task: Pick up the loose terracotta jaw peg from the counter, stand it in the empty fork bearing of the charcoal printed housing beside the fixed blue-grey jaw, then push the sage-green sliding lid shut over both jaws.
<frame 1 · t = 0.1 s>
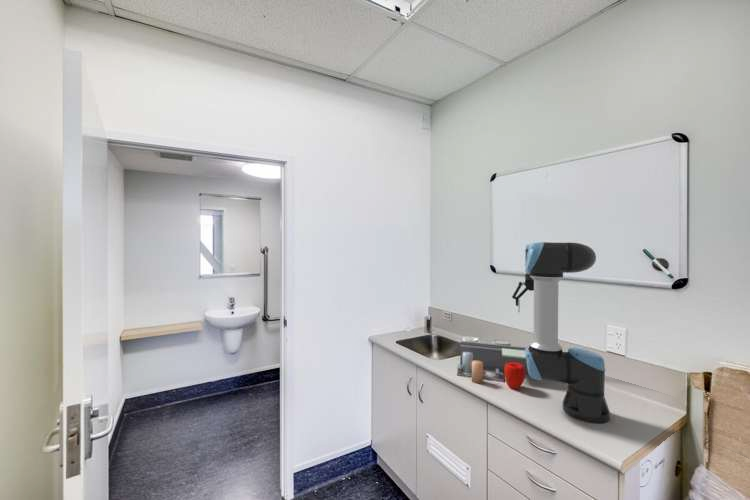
hand: (532, 312, 174), 28 cm above the counter, fingers open, 13 cm apart
housing: (480, 371, 164), on the counter
apple: (514, 387, 146), on the counter
disposable coffee cup: (501, 364, 176), on the counter
cup: (473, 355, 189), on the counter
jaw peg: (477, 381, 152), on the counter
lid: (522, 353, 156), point 12 cm above the counter, slide at 19.0 cm
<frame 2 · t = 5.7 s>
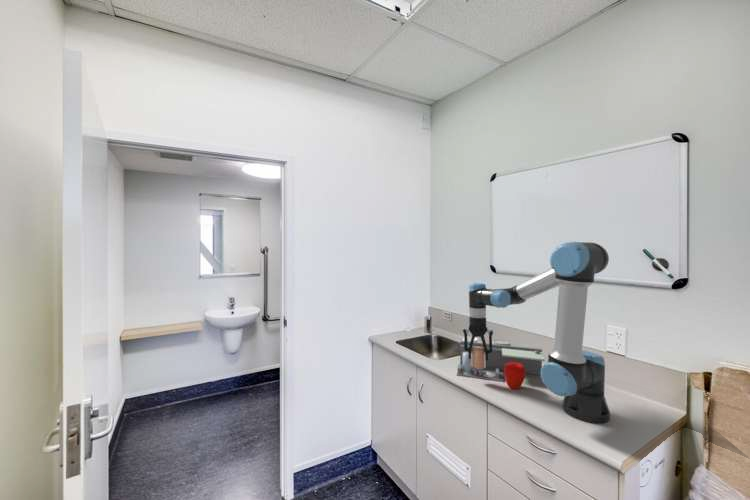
hand: (478, 366, 152), 7 cm above the counter, fingers closed on jaw peg, 5 cm apart
jaw peg: (478, 367, 151), point 7 cm above the counter, touching gripper
everything else where it was.
when the fingers open (2 cm above the counter, at t = 10.2 s): jaw peg drops 1 cm, resting on housing.
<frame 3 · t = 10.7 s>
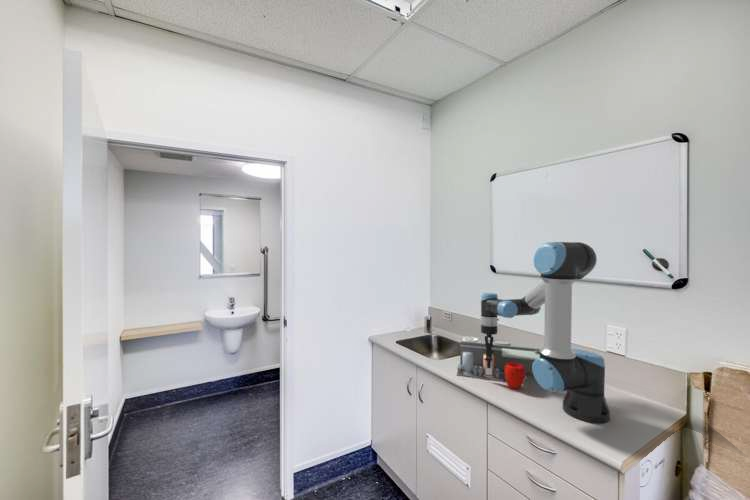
hand: (488, 370, 158), 3 cm above the counter, fingers open, 11 cm apart
jaw peg: (488, 374, 159), point 1 cm above the counter, touching housing
everything else where it was.
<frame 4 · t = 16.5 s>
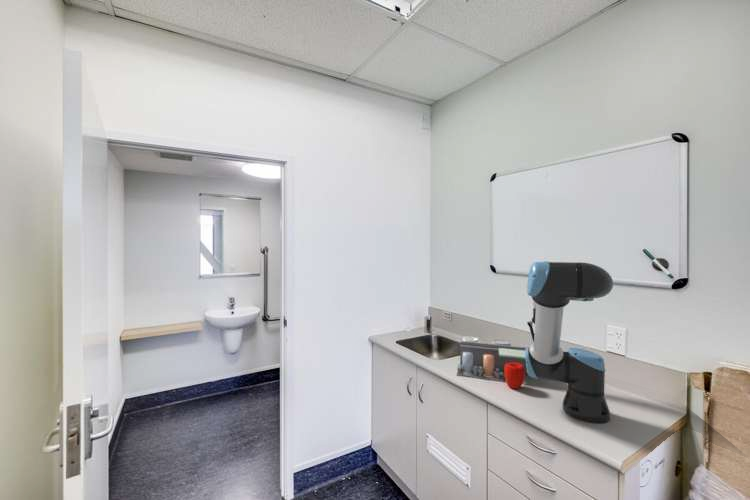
hand: (541, 358, 152), 11 cm above the counter, fingers closed
lid: (518, 352, 157), point 12 cm above the counter, slide at 17.5 cm, touching gripper
everything else where it was.
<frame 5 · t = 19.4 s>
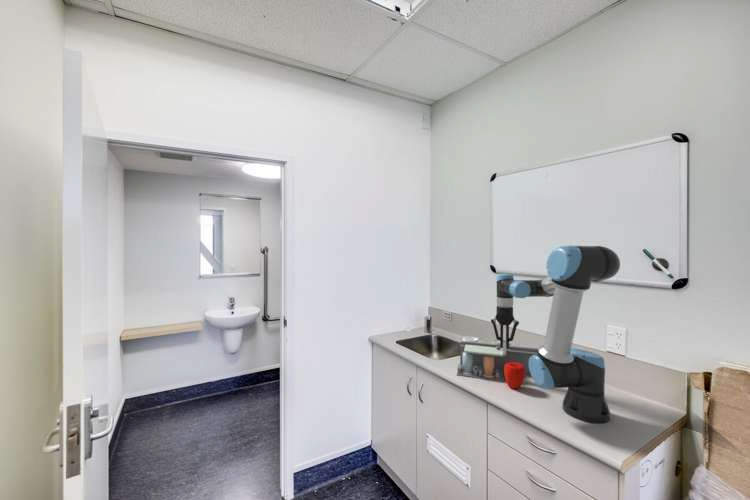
hand: (504, 354, 157), 11 cm above the counter, fingers closed
lid: (483, 349, 163), point 12 cm above the counter, slide at 1.3 cm, touching gripper
everything else where it was.
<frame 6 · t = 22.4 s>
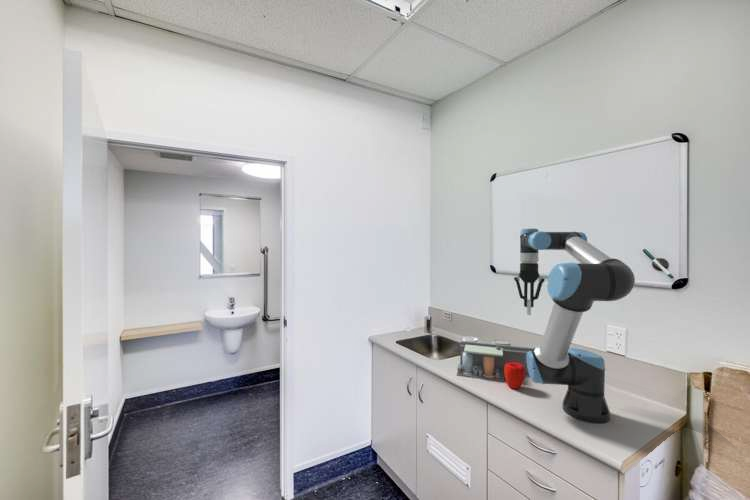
hand: (528, 314, 148), 32 cm above the counter, fingers closed
lid: (483, 348, 163), point 12 cm above the counter, slide at 1.3 cm
everything else where it was.
at the end: jaw peg 0.1 cm from the target spot on the housing, point 0.8 cm above the housing's base; jaw peg tilted 0°; lid slide at 1.3 cm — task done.
